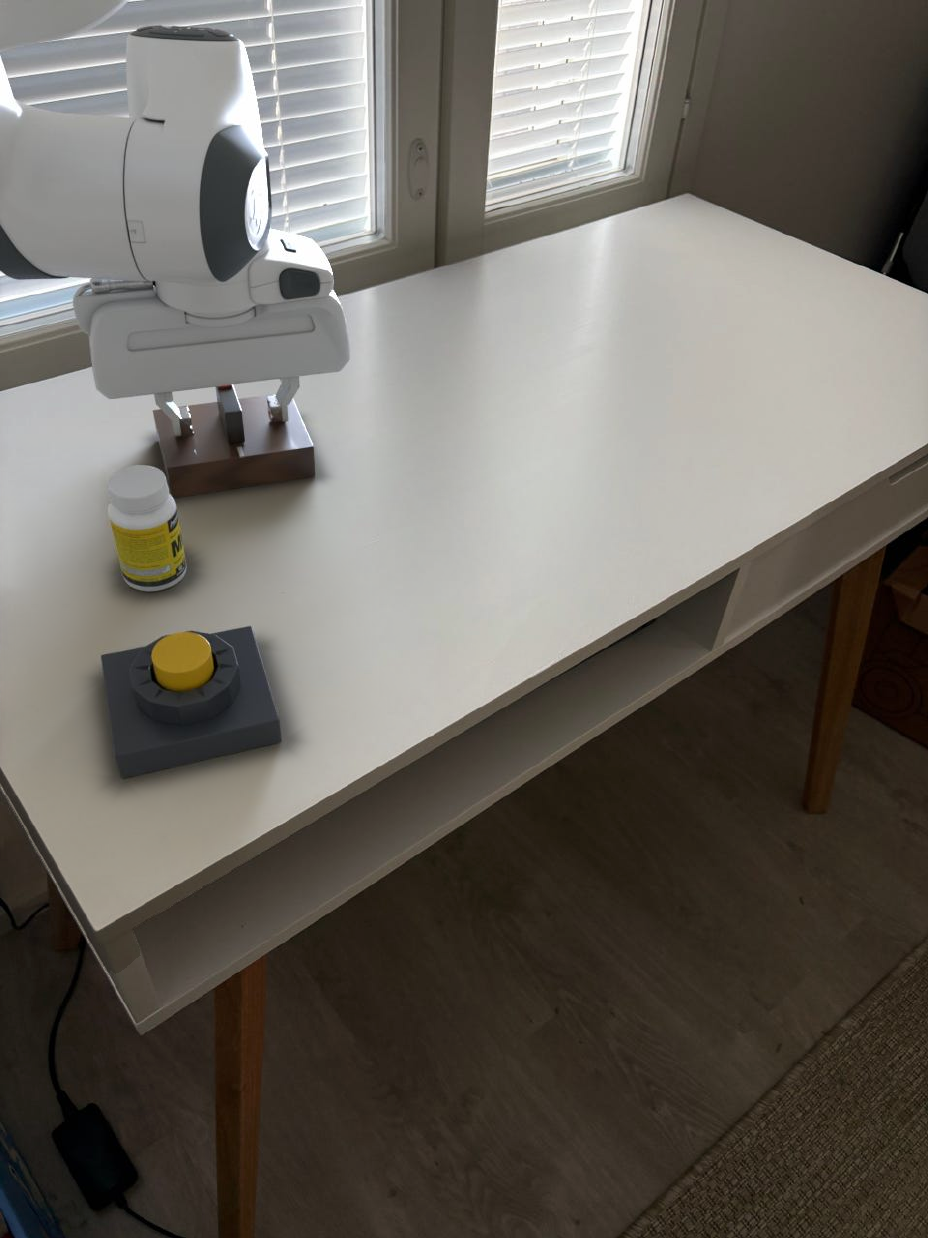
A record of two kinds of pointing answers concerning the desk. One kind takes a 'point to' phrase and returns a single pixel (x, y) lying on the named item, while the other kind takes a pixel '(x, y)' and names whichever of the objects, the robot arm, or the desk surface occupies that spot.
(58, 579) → the desk surface
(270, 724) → the button block
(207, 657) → the trigger button
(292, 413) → the dial panel
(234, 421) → the dial knob
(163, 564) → the supplement bottle
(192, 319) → the robot arm
